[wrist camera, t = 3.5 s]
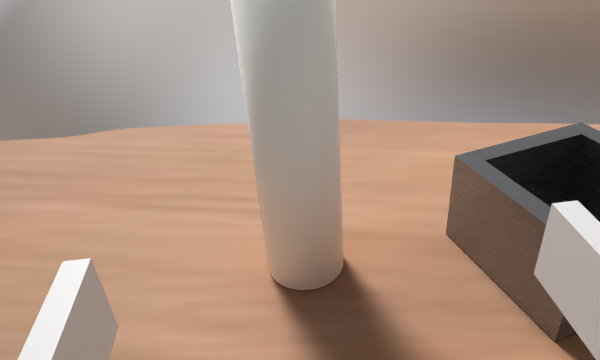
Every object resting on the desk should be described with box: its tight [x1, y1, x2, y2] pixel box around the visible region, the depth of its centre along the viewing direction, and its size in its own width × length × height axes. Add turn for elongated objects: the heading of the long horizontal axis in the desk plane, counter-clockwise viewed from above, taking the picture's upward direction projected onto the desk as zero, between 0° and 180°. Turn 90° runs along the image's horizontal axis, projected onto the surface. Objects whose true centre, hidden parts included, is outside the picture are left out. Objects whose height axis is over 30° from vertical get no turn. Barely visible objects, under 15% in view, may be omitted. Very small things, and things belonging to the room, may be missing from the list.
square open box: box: [446, 122, 600, 341], centre depth 24 cm, size 8×8×5 cm
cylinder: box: [230, 0, 343, 290], centre depth 22 cm, size 4×4×14 cm
